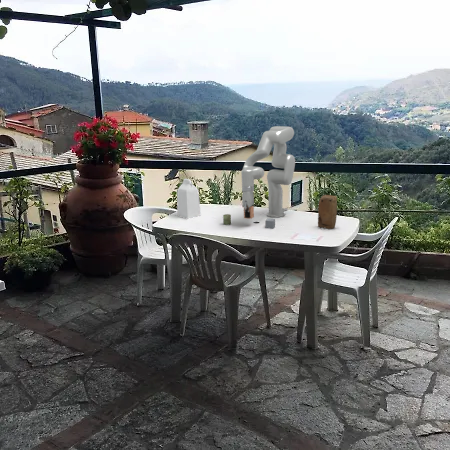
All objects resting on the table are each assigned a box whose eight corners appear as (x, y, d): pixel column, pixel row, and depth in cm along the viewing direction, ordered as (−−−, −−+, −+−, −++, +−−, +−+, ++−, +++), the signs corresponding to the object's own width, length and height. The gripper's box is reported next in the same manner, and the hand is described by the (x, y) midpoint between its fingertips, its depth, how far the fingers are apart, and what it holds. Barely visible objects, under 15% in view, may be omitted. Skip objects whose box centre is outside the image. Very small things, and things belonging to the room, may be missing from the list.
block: (337, 227, 280) (338, 195, 274) (333, 230, 273) (334, 197, 268) (320, 224, 285) (321, 193, 280) (316, 227, 279) (316, 196, 274)
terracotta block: (246, 216, 291) (246, 205, 288) (253, 216, 289) (253, 206, 287) (243, 218, 286) (243, 207, 284) (251, 218, 284) (251, 208, 282)
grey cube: (267, 226, 286) (267, 218, 285) (275, 226, 285) (275, 219, 283) (265, 228, 282) (265, 220, 280) (273, 228, 280) (273, 221, 279)
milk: (177, 216, 317) (175, 179, 310) (190, 213, 325) (188, 177, 318) (187, 219, 309) (185, 181, 302) (200, 215, 316) (199, 179, 309)
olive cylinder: (228, 222, 297) (227, 213, 295) (232, 224, 293) (232, 215, 291) (221, 223, 294) (221, 215, 292) (226, 225, 290) (226, 216, 288)
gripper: (246, 185, 291) (247, 212, 296) (237, 191, 276) (239, 220, 281) (257, 185, 288) (258, 213, 294) (249, 191, 273) (250, 220, 278)
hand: (248, 216), depth 287 cm, fingers closed on terracotta block, 5 cm apart
